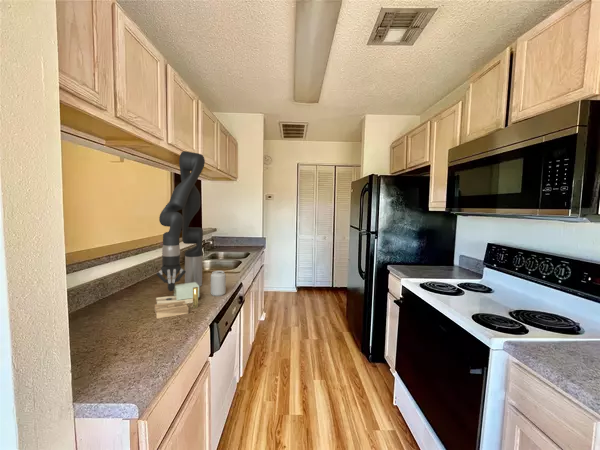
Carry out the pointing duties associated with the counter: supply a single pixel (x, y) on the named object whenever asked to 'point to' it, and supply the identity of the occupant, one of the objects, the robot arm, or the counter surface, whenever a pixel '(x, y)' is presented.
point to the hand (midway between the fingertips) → (171, 290)
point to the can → (218, 283)
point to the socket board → (171, 309)
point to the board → (171, 300)
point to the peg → (195, 297)
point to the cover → (185, 290)
